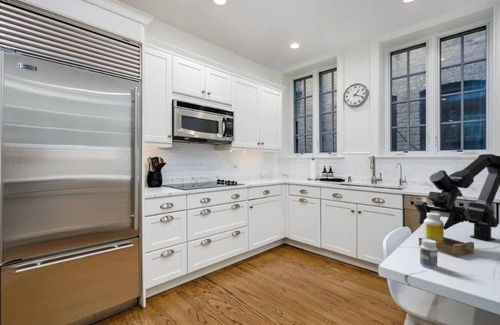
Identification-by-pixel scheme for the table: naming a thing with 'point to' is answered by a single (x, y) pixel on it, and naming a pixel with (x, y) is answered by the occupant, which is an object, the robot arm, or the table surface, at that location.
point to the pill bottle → (428, 253)
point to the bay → (453, 247)
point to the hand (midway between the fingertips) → (431, 226)
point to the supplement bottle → (434, 228)
